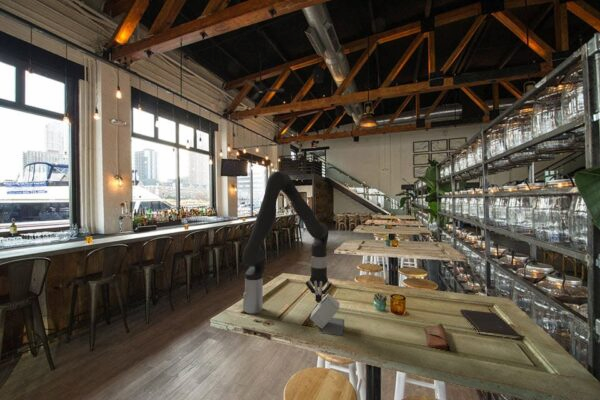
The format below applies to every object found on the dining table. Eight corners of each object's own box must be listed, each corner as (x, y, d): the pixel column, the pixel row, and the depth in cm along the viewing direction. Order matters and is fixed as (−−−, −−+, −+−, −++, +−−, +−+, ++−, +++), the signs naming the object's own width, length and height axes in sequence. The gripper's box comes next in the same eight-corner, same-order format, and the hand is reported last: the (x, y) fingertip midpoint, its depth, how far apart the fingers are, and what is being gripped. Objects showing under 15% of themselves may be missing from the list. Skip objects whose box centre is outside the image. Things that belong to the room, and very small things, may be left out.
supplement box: (322, 329, 118) (339, 309, 116) (309, 318, 119) (326, 298, 117) (323, 322, 125) (340, 302, 124) (311, 311, 126) (327, 292, 125)
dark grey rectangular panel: (321, 333, 114) (321, 332, 114) (325, 317, 129) (325, 317, 129) (342, 335, 113) (342, 334, 113) (343, 319, 127) (343, 318, 127)
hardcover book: (494, 317, 134) (495, 313, 134) (520, 341, 112) (520, 335, 112) (460, 313, 138) (460, 309, 138) (478, 335, 116) (478, 330, 116)
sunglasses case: (422, 327, 121) (431, 316, 120) (437, 337, 119) (445, 326, 118) (426, 347, 104) (436, 335, 103) (443, 360, 102) (453, 347, 101)
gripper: (303, 266, 119) (303, 304, 119) (332, 268, 116) (332, 306, 116) (306, 262, 126) (306, 298, 126) (333, 264, 124) (333, 300, 124)
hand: (318, 302), depth 121 cm, fingers closed
